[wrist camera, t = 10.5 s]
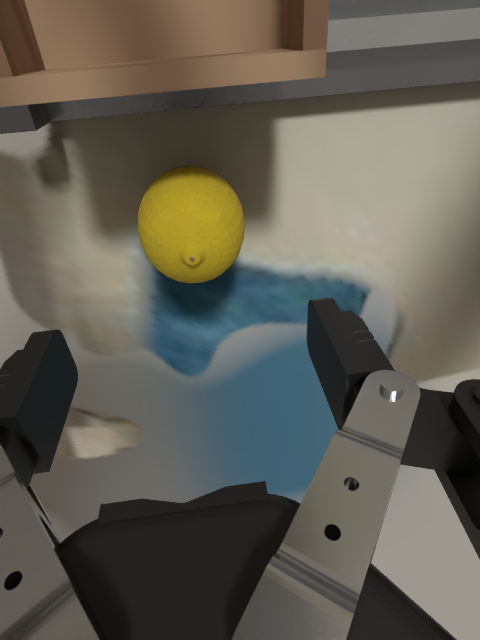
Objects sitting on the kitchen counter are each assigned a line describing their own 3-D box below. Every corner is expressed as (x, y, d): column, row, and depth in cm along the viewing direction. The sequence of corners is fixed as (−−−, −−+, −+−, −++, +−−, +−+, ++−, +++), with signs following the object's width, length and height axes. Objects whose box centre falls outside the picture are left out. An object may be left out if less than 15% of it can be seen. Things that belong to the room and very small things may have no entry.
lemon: (127, 174, 23) (102, 229, 16) (215, 134, 22) (226, 175, 15) (171, 253, 26) (165, 326, 19) (249, 221, 25) (270, 285, 19)
